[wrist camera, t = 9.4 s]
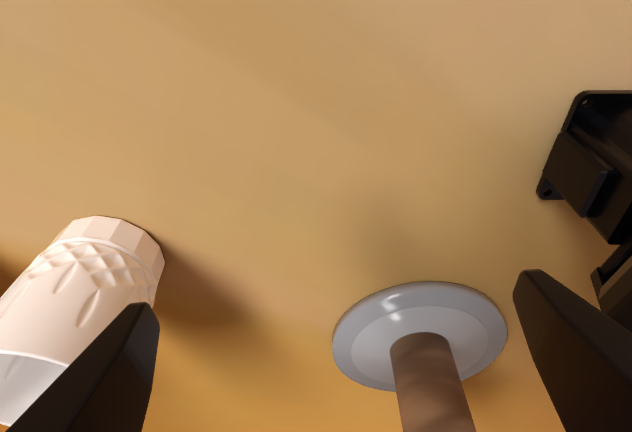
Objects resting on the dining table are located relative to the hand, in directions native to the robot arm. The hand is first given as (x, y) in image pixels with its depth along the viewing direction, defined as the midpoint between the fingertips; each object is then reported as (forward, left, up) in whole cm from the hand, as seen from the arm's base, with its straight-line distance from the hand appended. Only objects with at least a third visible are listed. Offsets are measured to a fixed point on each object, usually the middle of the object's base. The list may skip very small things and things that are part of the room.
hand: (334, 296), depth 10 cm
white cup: (+14, +11, -14) cm, 22 cm away
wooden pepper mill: (-8, +21, -12) cm, 26 cm away
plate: (-8, +21, -13) cm, 26 cm away
